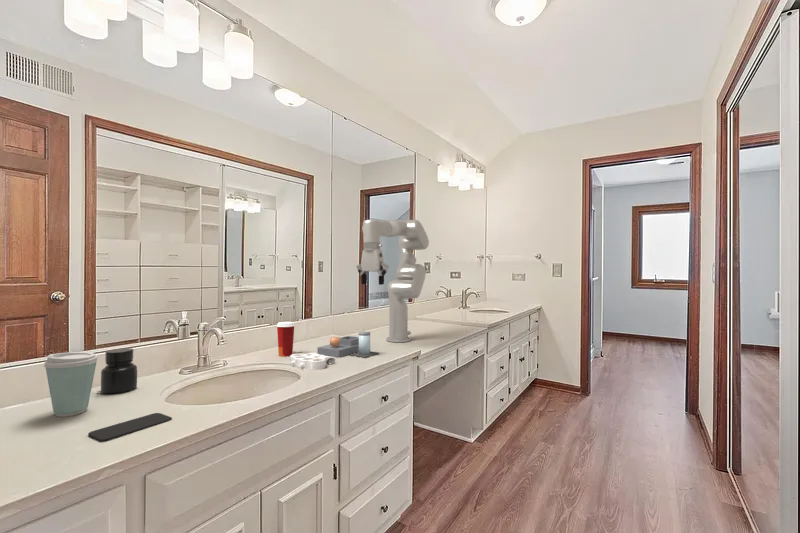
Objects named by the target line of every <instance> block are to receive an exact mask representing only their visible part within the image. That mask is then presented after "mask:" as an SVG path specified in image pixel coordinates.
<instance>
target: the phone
mask: <svg viewBox="0 0 800 533" xmlns="http://www.w3.org/2000/svg"><path fill="white" fill-rule="evenodd" d="M172 420H173V417H172V416H169V415H166V414H164V413H161V412H154V413H150V414H147V415H143V416H140V417H137V418H133V419H130V420H129V419H128V420H126V421H122V422H119V423H115V424H113V425H108V426H105V427H102V428H99V429H95V430H92V431H89V432H88V437H89V438H90V439H92V440H95V441H97V442H100V443H105V442H108V441H112V440H115V439H118V438H122V437H125V436H128V435H131V434H134V433H136V432H140V431H143V430H145V429H149V428H151V427H155V426H158V425H161V424H164V423H167V422H170V421H172Z"/></svg>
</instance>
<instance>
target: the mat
mask: <svg viewBox="0 0 800 533" xmlns="http://www.w3.org/2000/svg"><path fill="white" fill-rule="evenodd" d="M379 354H380V353H379V352H377V351H371V350H370V354H366V355H362V354H359V352H357V353H353V354H350V355H349V356H350V357H353V356H356V357H355V358H360V357H362V359H367V358H370V356H371V357H375V356H377V355H379Z"/></svg>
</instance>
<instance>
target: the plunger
mask: <svg viewBox="0 0 800 533" xmlns="http://www.w3.org/2000/svg"><path fill="white" fill-rule="evenodd" d="M340 338H341V336H339V337H338V336H331V337H329V345H331V346H333V348H337V346H338V345H340Z"/></svg>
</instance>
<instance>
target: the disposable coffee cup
mask: <svg viewBox="0 0 800 533" xmlns="http://www.w3.org/2000/svg"><path fill="white" fill-rule="evenodd" d="M98 361H99V358H98V355H97V354H96V353H94V352H90V351H89V352H87V351H86V352H84V351H82V352H81V351H77V352H76V351H73V352H71V351H70V352H69V351H68V352H59V353H58V352H57V353H51V354H49V355H47V359H46V360H45V361H44V365H43V367H44V368H45V372H46V379H47V383H48V389H49V395H50V400H51V405H52V411H53V414H54V416H56V417H58V418H59V417H63V418H65V417H70V416H71V417H72V416H75V415H80V414H82V413H84V412H86V411H87V408H88V407H89V402H90V398H91V393H92V388H93V383H94V378H95V372H96V368H97V362H98Z"/></svg>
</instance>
